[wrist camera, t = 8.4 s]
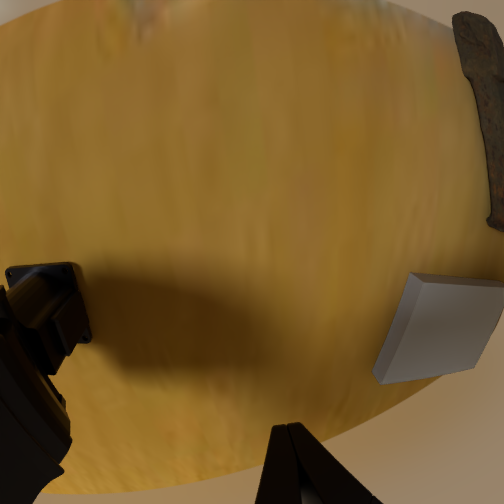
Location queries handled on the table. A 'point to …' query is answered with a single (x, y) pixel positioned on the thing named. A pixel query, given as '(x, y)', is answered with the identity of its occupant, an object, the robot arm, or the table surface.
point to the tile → (439, 327)
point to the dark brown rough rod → (486, 95)
